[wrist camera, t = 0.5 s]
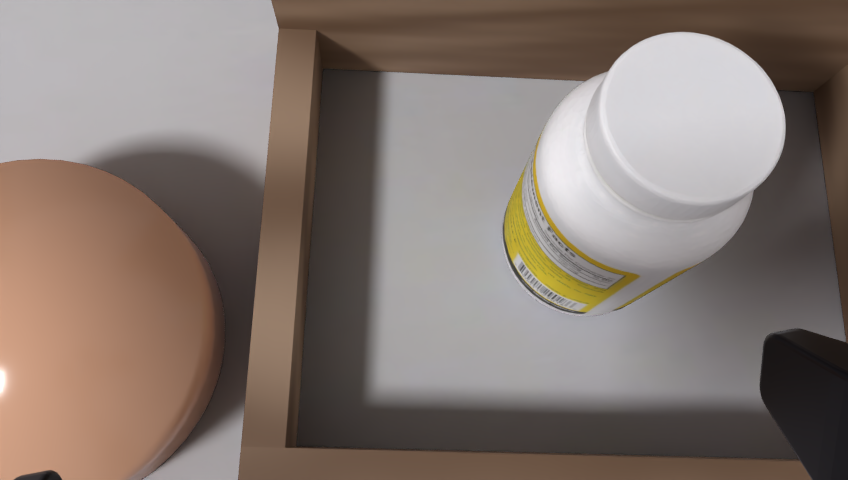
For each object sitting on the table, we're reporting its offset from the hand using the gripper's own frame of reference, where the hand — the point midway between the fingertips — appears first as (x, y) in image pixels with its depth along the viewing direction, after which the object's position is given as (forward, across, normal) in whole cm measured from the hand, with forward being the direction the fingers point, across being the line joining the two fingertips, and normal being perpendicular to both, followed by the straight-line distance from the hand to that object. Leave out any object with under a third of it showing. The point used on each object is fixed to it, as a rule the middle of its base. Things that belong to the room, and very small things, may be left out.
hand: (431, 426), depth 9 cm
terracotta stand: (+14, +10, +5) cm, 18 cm away
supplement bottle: (+14, -7, +5) cm, 16 cm away
